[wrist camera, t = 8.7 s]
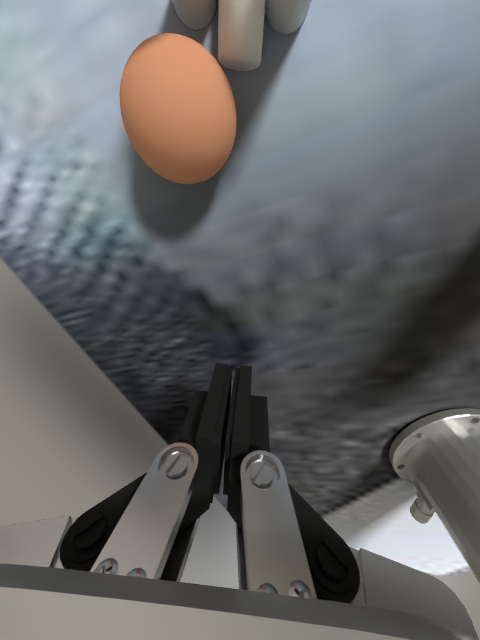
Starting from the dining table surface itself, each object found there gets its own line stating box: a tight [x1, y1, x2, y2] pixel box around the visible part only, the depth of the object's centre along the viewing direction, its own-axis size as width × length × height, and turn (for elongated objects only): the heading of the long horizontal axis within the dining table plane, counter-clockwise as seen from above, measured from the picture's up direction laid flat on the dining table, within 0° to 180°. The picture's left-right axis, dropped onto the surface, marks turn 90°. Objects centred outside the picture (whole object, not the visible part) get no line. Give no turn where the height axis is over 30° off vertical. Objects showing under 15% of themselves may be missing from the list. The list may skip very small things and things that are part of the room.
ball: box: [120, 33, 237, 184], centre depth 13 cm, size 6×6×6 cm
